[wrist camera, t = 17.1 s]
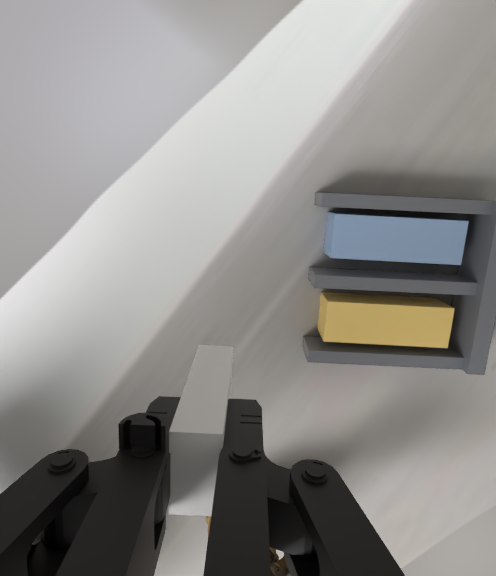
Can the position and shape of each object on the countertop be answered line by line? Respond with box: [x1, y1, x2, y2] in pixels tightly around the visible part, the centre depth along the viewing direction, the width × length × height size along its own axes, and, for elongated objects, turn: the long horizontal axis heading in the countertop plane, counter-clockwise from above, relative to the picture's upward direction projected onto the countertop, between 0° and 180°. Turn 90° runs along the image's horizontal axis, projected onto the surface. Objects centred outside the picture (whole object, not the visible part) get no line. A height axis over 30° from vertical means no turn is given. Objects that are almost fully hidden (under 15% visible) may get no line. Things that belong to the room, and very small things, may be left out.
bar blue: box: [324, 212, 469, 265], centre depth 39 cm, size 12×4×4 cm, turn 87°
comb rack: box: [303, 192, 496, 375], centre depth 39 cm, size 17×16×5 cm
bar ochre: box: [318, 292, 455, 348], centre depth 41 cm, size 12×4×4 cm, turn 87°
